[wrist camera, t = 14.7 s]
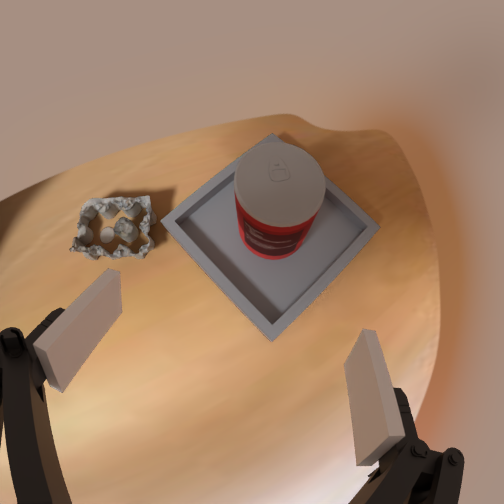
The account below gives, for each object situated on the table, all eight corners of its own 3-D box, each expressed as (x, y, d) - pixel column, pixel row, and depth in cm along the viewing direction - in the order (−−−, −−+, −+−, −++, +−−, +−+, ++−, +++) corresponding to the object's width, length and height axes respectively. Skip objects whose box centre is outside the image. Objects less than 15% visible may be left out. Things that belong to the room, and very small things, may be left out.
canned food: (284, 188, 36) (296, 130, 25) (317, 244, 33) (344, 201, 23) (227, 213, 35) (217, 159, 24) (257, 273, 32) (260, 240, 22)
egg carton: (81, 261, 34) (65, 252, 30) (91, 209, 36) (77, 195, 32) (154, 264, 34) (142, 254, 30) (161, 206, 36) (152, 191, 32)
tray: (165, 228, 35) (160, 220, 32) (271, 144, 38) (272, 132, 36) (270, 341, 31) (272, 341, 29) (372, 234, 35) (380, 227, 32)
